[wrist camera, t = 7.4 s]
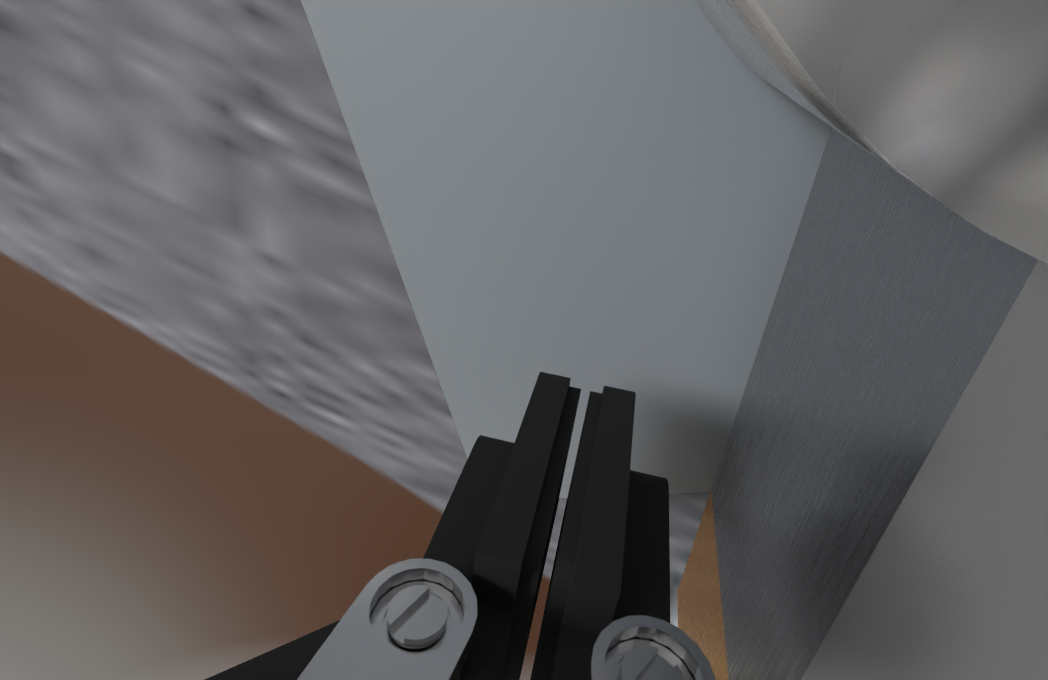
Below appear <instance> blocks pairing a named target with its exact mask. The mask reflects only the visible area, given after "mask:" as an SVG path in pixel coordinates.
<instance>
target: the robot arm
mask: <svg viewBox="0 0 1048 680" xmlns="http://www.w3.org/2000/svg"><path fill="white" fill-rule="evenodd" d="M570 380H571V378H568V377H563V376H559V375H554V374H549V373H545V372H540V373H539V375H538V378H537V381H536V384H535V387H534V389H533V392H532V395H531V398H530V401H529V403H528V406H527V409H526V412H525V415H524V417H523V420H522V423H521V426H520V429H519V432H518V434H517V437H516V440H515V443H512V442H508V441H504V440H499V439H495V438H491V437H486V436H482V435H480V436H479V437H478V438H477V440H476V442H475V444H474V446H473V448H472V451H471V453H470V455H469V457H468V460H467V462H466V464H465V466H464V468H463V471H462V473H461V475H460V477H459V480H458V482H457V484H456V486H455V489H454V491H453V493H452V495H451V497H450V500H449V502H448V504H447V506H446V509H445V511H444V513H443V515H442V517H441V520H440V522H439V524H438V526H437V529H436V531H435V533H434V535H433V538H432V540H431V542H430V544H429V546H428V549H427V551H426V553H425V555H424V558H423V559H409V560H405V561H402V562H398V563H394V564H392V565H391V566H389V567H387V568H386V569H384V570H382V571H380V572H379V573H378V574H377V575H376V576H375V577H374V578H373V579H372V580H371V581H370V582H369V583H368V584H367V585H366V586H365V587H364V589H363V590H362V592H361V593H360V594H359V596H358V597H357V598H356V600H355V601H354V602H353V604H352V605H351V606H350V608H349V609H348V611H347V612H346V613H345V615H344V616H343V617H342V619H341V620H339V621H337V622H335V623H332V624H330V625H328V626H326V627H323V628H321V629H319V630H316V631H314V632H312V633H310V634H308V635H305V636H303V637H301V638H298V639H296V640H294V641H292V642H290V643H287V644H285V645H283V646H280V647H278V648H276V649H273V650H271V651H269V652H266V653H264V654H262V655H260V656H257V657H255V658H253V659H251V660H248V661H246V662H244V663H242V664H239V665H237V666H235V667H232V668H230V669H228V670H226V671H223V672H221V673H219V674H217V675H214V676H212V677H210V678H208V679H205V680H519V679H520V674H521V670H522V665H523V660H524V656H525V651H526V647H527V642H528V638H529V633H530V628H531V624H532V620H533V614H534V611H535V605H536V602H537V597H538V592H539V588H540V583H541V579H542V574H543V570H544V565H545V561H546V556H547V552H548V547H549V543H550V538H551V534H552V529H553V524H554V520H555V515H556V511H557V506H558V501H559V496H560V491H561V486H562V481H563V476H564V471H565V467H566V462H567V457H568V452H569V447H570V442H571V437H572V432H573V427H574V422H575V417H576V412H577V407H578V402H579V398H580V393H581V389H579V388H575V387H570ZM635 398H636V393H635V392H633V391H628V390H623V389H619V388H614V387H609V386H605V385H604V388H603V392H602V393H597V392H593V391H590V394H589V399H588V404H587V408H586V413H585V418H584V422H583V427H582V432H581V436H580V441H579V446H578V451H577V455H576V460H575V465H574V469H573V474H572V479H571V483H570V488H569V493H568V498H567V502H566V507H565V512H564V517H563V521H562V526H561V531H560V536H559V541H558V546H557V551H556V556H555V561H554V566H553V571H552V576H551V581H550V586H549V591H548V595H547V600H546V605H545V610H544V615H543V620H542V625H541V630H540V635H539V640H538V645H537V650H536V655H535V660H534V665H533V670H532V675H531V679H530V680H716V678H715V676H714V673H713V670H712V668H711V665H710V662H709V660H708V659H707V657H706V656H705V655H704V653H703V652H702V650H701V649H700V647H699V646H698V644H697V643H696V642H694V641H693V640H692V639H691V638H690V637H689V636H688V635H687V634H686V633H685V632H683V631H682V630H681V629H679V628H677V627H675V626H674V625H672V624H670V560H669V485H668V480H667V478H663V477H658V476H654V475H650V474H645V473H641V472H637V471H632V470H630V464H631V451H632V437H633V424H634V411H635Z"/></svg>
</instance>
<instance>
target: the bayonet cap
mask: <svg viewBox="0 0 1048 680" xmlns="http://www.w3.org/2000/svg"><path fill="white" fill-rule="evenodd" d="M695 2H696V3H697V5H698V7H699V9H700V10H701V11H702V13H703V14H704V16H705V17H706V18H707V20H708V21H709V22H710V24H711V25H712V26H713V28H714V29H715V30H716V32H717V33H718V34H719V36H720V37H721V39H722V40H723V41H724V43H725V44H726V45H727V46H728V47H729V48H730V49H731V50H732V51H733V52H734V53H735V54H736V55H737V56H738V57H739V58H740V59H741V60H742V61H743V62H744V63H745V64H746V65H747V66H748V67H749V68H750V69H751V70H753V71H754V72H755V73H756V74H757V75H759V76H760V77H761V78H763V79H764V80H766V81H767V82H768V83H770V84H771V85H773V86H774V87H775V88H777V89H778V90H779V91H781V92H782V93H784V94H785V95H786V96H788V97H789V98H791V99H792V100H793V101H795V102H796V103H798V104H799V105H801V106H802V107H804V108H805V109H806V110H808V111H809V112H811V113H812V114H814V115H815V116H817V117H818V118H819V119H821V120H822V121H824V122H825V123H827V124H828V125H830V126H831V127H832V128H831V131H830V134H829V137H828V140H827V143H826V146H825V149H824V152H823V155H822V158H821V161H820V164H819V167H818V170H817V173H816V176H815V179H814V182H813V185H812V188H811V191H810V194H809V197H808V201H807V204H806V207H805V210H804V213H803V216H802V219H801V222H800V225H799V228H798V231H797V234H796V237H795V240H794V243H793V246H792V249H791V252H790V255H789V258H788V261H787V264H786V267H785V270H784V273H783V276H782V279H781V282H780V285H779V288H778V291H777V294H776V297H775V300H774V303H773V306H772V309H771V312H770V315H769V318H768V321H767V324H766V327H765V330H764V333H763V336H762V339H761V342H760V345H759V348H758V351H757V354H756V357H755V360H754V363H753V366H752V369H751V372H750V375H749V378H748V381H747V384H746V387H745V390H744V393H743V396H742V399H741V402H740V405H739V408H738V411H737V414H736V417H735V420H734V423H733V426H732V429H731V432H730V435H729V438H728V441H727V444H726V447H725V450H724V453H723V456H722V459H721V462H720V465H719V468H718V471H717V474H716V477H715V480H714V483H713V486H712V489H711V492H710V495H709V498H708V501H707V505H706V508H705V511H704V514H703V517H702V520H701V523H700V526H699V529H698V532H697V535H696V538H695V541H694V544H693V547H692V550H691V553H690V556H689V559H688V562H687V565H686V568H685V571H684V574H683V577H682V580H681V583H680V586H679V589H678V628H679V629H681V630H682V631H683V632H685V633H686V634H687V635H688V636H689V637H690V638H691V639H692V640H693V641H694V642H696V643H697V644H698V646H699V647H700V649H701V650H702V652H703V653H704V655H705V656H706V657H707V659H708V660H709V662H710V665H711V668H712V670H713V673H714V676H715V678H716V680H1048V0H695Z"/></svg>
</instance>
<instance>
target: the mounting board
mask: <svg viewBox="0 0 1048 680" xmlns="http://www.w3.org/2000/svg"><path fill="white" fill-rule="evenodd" d="M301 2H302V4H303V7H304V10H305V13H306V15H307V18H308V21H309V24H310V26H311V29H312V32H313V35H314V37H315V40H316V43H317V46H318V48H319V51H320V54H321V57H322V59H323V62H324V65H325V68H326V70H327V73H328V76H329V79H330V81H331V84H332V87H333V90H334V92H335V95H336V98H337V101H338V104H339V106H340V109H341V112H342V115H343V117H344V120H345V123H346V126H347V128H348V131H349V134H350V137H351V139H352V142H353V145H354V148H355V150H356V153H357V156H358V159H359V161H360V164H361V167H362V170H363V172H364V175H365V178H366V181H367V183H368V186H369V189H370V192H371V194H372V197H373V200H374V203H375V205H376V208H377V211H378V214H379V216H380V219H381V222H382V225H383V227H384V230H385V233H386V236H387V239H388V241H389V244H390V247H391V250H392V252H393V255H394V258H395V261H396V263H397V266H398V269H399V272H400V274H401V277H402V280H403V283H404V285H405V288H406V291H407V294H408V296H409V299H410V302H411V305H412V307H413V310H414V313H415V316H416V318H417V321H418V324H419V327H420V329H421V332H422V335H423V338H424V340H425V343H426V346H427V349H428V351H429V354H430V357H431V360H432V362H433V365H434V368H435V371H436V374H437V376H438V379H439V382H440V385H441V387H442V390H443V393H444V396H445V398H446V401H447V404H448V407H449V409H450V412H451V415H452V418H453V420H454V423H455V426H456V429H457V431H458V434H459V437H460V440H461V442H462V445H463V448H464V451H465V453H466V456H467V459H468V457H469V455H470V453H471V451H472V448H473V446H474V444H475V442H476V440H477V438H478V437H479V436H480V435H482V436H486V437H491V438H495V439H499V440H504V441H508V442H512V443H515V440H516V437H517V434H518V432H519V429H520V426H521V423H522V420H523V417H524V415H525V412H526V409H527V406H528V403H529V401H530V398H531V395H532V392H533V389H534V387H535V384H536V381H537V378H538V375H539V373H540V372H545V373H549V374H554V375H559V376H563V377H568V378H571V380H570V387H575V388H579V389H581V393H580V398H579V402H578V407H577V412H576V417H575V422H574V427H573V432H572V437H571V442H570V447H569V452H568V457H567V462H566V467H565V471H564V476H563V481H562V486H561V491H560V496H559V498H568V493H569V488H570V483H571V479H572V474H573V469H574V465H575V460H576V455H577V451H578V446H579V441H580V436H581V432H582V427H583V422H584V418H585V413H586V408H587V404H588V399H589V394H590V391H593V392H597V393H602V392H603V388H604V385H605V386H609V387H614V388H619V389H623V390H628V391H633V392H635V393H636V398H635V411H634V424H633V437H632V451H631V464H630V470H632V471H637V472H641V473H645V474H650V475H654V476H658V477H663V478H667V480H668V485H669V494H697V493H710V492H711V489H712V486H713V483H714V480H715V477H716V474H717V471H718V468H719V465H720V462H721V459H722V456H723V453H724V450H725V447H726V444H727V441H728V438H729V435H730V432H731V429H732V426H733V423H734V420H735V417H736V414H737V411H738V408H739V405H740V402H741V399H742V396H743V393H744V390H745V387H746V384H747V381H748V378H749V375H750V372H751V369H752V366H753V363H754V360H755V357H756V354H757V351H758V348H759V345H760V342H761V339H762V336H763V333H764V330H765V327H766V324H767V321H768V318H769V315H770V312H771V309H772V306H773V303H774V300H775V297H776V294H777V291H778V288H779V285H780V282H781V279H782V276H783V273H784V270H785V267H786V264H787V261H788V258H789V255H790V252H791V249H792V246H793V243H794V240H795V237H796V234H797V231H798V228H799V225H800V222H801V219H802V216H803V213H804V210H805V207H806V204H807V201H808V197H809V194H810V191H811V188H812V185H813V182H814V179H815V176H816V173H817V170H818V167H819V164H820V161H821V158H822V155H823V152H824V149H825V146H826V143H827V140H828V137H829V134H830V131H831V128H832V127H831V126H830V125H828V124H827V123H825V122H824V121H822V120H821V119H819V118H818V117H817V116H815V115H814V114H812V113H811V112H809V111H808V110H806V109H805V108H804V107H802V106H801V105H799V104H798V103H796V102H795V101H793V100H792V99H791V98H789V97H788V96H786V95H785V94H784V93H782V92H781V91H779V90H778V89H777V88H775V87H774V86H773V85H771V84H770V83H768V82H767V81H766V80H764V79H763V78H761V77H760V76H759V75H757V74H756V73H755V72H754V71H753V70H751V69H750V68H749V67H748V66H747V65H746V64H745V63H744V62H743V61H742V60H741V59H740V58H739V57H738V56H737V55H736V54H735V53H734V52H733V51H732V50H731V49H730V48H729V47H728V46H727V45H726V44H725V43H724V41H723V40H722V39H721V37H720V36H719V34H718V33H717V32H716V30H715V29H714V28H713V26H712V25H711V24H710V22H709V21H708V20H707V18H706V17H705V16H704V14H703V13H702V11H701V10H700V9H699V7H698V5H697V3H696V2H695V0H301Z"/></svg>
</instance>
